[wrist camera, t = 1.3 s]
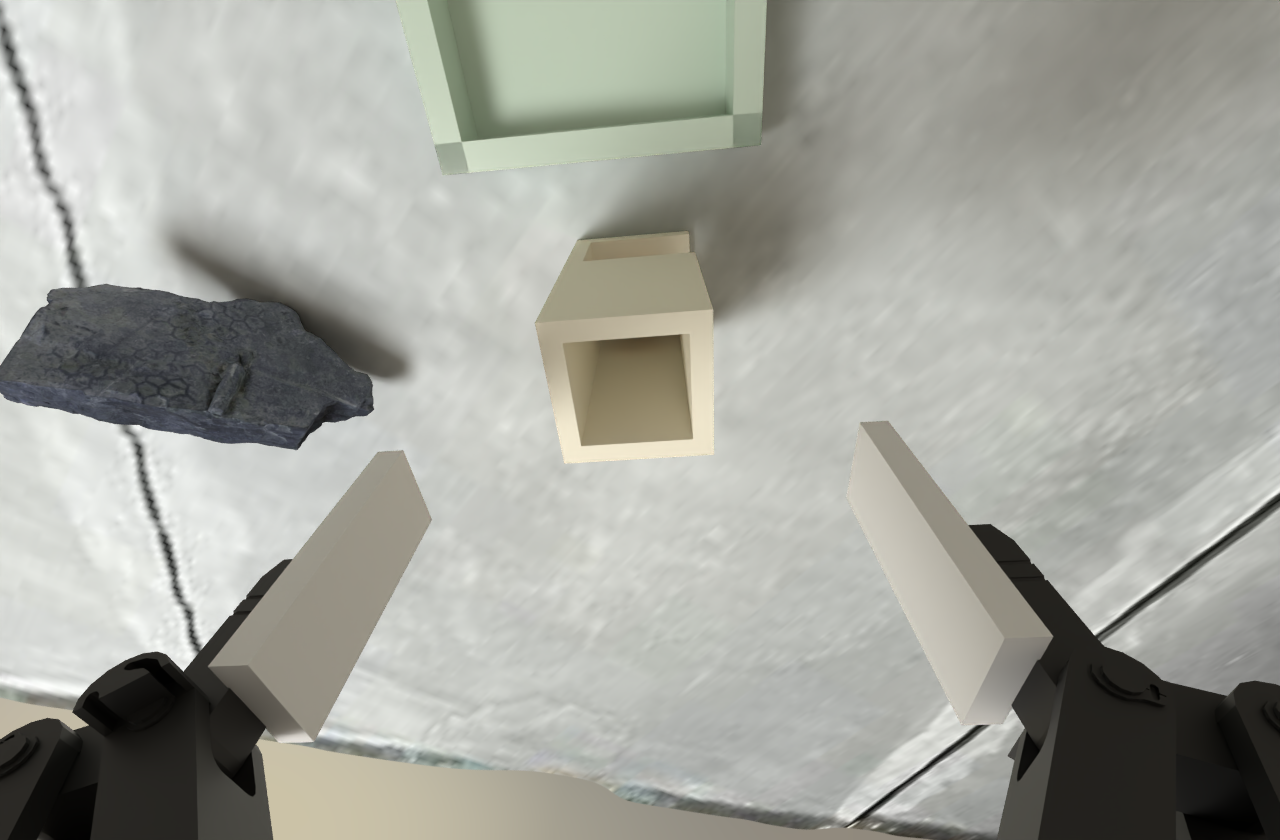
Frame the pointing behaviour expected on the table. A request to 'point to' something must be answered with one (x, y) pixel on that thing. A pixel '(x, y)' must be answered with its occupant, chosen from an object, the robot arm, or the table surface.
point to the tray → (585, 78)
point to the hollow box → (630, 350)
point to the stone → (183, 366)
